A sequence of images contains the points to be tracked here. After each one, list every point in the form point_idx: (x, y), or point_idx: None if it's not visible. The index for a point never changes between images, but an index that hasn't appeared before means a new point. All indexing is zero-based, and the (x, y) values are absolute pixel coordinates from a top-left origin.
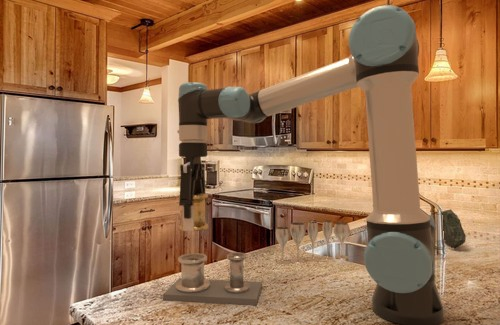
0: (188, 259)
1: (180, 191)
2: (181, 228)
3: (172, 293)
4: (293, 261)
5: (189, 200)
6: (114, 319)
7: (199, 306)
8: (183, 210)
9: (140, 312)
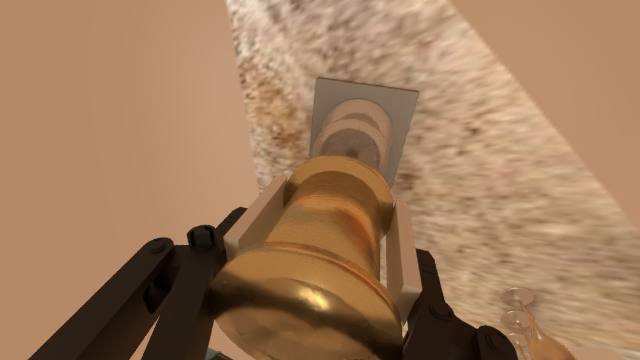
0: (327, 150)
1: (92, 299)
2: (298, 168)
3: (320, 98)
4: (513, 313)
5: (161, 287)
6: (230, 4)
7: (296, 150)
8: (238, 222)
9: (263, 48)
